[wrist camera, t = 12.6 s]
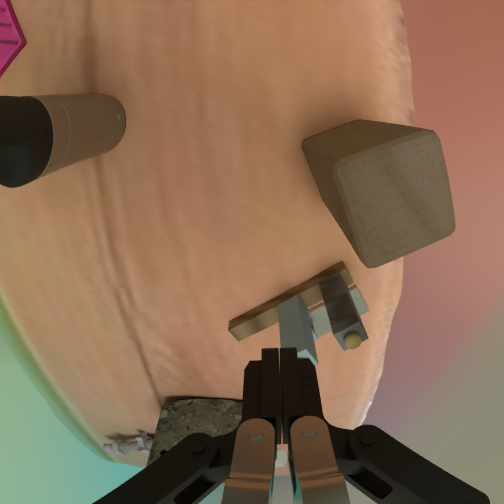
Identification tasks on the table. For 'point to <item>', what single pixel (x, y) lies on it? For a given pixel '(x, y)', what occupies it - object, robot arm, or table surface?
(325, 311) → the grey flat plate
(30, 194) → the table surface
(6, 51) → the file sorter
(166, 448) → the concrete block
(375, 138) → the block
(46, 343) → the table surface
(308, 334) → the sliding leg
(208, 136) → the table surface
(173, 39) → the table surface
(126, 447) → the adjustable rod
